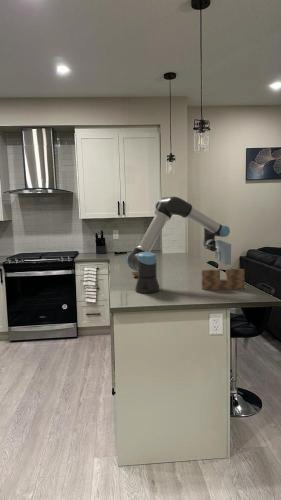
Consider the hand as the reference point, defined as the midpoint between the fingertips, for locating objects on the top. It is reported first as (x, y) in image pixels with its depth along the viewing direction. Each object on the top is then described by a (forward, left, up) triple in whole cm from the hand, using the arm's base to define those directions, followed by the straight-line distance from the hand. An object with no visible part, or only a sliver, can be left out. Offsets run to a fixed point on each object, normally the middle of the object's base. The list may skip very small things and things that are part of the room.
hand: (221, 249), depth 195 cm
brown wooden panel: (-1, -2, -24) cm, 24 cm away
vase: (-23, +61, -24) cm, 69 cm away
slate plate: (-1, -2, -7) cm, 7 cm away
